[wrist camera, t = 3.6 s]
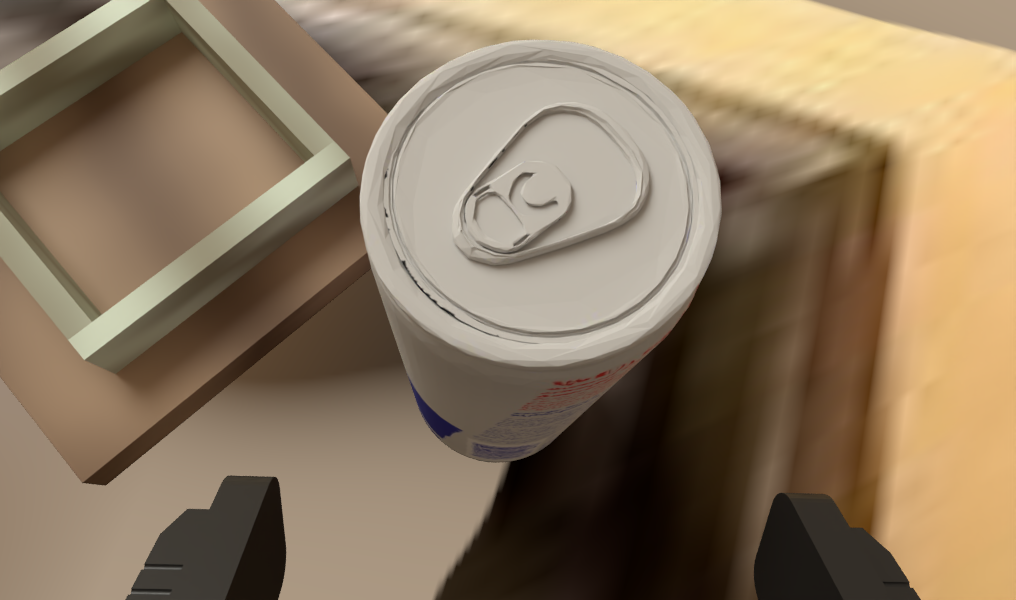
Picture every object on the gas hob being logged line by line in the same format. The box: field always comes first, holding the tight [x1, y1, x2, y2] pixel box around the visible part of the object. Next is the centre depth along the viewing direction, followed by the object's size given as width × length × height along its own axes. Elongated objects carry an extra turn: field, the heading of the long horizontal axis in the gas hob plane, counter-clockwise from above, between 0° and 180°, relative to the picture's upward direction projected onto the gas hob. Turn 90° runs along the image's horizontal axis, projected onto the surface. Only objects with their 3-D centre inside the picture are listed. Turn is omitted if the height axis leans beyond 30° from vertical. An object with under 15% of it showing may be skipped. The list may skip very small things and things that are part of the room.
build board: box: [0, 0, 388, 485], centre depth 24 cm, size 15×12×4 cm
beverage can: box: [360, 40, 722, 462], centre depth 18 cm, size 6×6×15 cm
